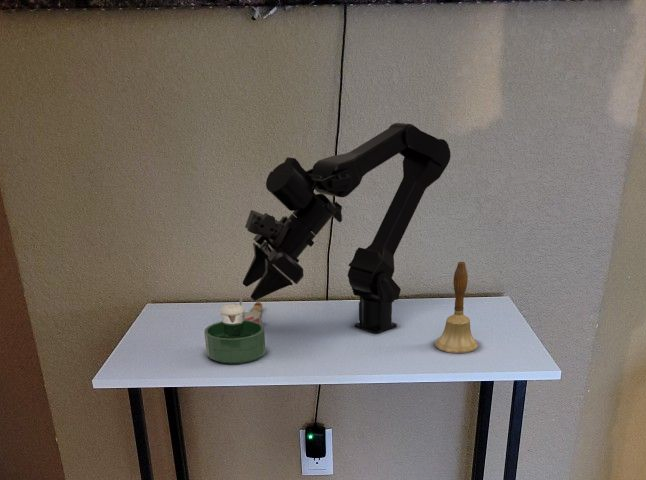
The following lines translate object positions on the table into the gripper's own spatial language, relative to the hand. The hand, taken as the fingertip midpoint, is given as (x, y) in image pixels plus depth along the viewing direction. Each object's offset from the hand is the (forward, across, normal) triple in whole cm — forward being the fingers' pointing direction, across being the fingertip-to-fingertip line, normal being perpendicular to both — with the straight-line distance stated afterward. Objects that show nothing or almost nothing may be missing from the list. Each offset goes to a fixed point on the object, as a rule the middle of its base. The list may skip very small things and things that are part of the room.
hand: (248, 291), depth 138 cm
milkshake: (+10, 0, +6) cm, 12 cm away
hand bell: (-19, +8, +36) cm, 41 cm away
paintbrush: (+6, -17, +11) cm, 21 cm away
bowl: (+11, 0, +6) cm, 12 cm away
